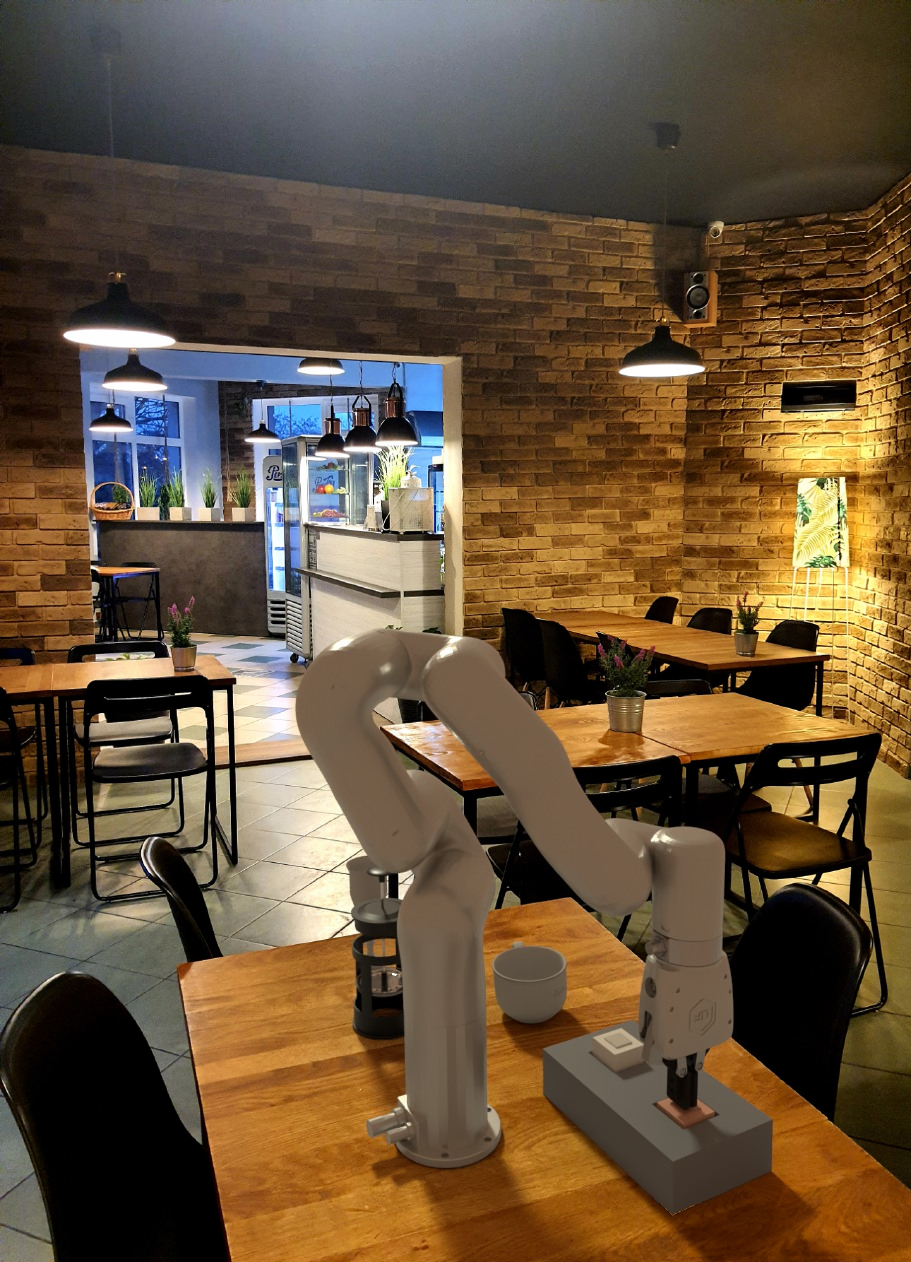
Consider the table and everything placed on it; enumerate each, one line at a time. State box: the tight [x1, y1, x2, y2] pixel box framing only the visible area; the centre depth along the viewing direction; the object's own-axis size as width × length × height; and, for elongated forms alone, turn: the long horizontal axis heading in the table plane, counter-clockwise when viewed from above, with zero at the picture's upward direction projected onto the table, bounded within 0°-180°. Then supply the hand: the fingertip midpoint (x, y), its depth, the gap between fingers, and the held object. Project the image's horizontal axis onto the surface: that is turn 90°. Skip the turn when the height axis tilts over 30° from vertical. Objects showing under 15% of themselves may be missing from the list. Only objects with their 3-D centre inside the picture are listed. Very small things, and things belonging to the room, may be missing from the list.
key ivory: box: [593, 1028, 644, 1073], centre depth 114 cm, size 4×4×3 cm
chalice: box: [345, 855, 388, 976], centre depth 149 cm, size 7×7×18 cm
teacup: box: [491, 941, 568, 1024], centre depth 138 cm, size 14×11×8 cm
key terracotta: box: [657, 1098, 715, 1130], centre depth 104 cm, size 4×4×3 cm
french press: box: [350, 866, 404, 1041], centre depth 133 cm, size 12×9×23 cm
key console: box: [542, 1019, 774, 1215], centre depth 109 cm, size 14×24×6 cm, turn 28°
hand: (681, 1101), depth 104 cm, fingers closed
